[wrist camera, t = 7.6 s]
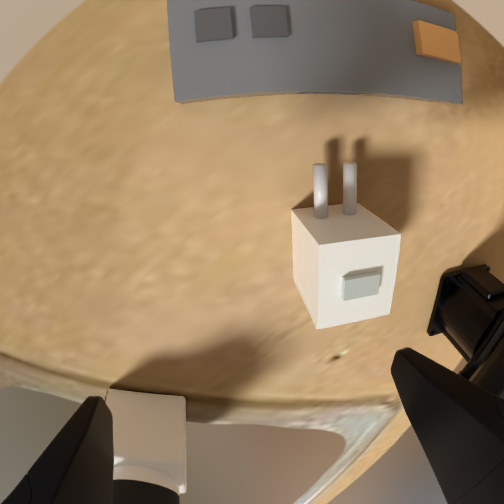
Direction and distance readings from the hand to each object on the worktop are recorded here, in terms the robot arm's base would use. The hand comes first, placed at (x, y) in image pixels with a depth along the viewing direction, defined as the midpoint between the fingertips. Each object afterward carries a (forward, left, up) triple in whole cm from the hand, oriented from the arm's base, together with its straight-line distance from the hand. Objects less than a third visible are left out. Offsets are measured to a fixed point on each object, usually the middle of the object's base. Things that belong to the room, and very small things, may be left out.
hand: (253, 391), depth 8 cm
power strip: (+11, -6, -12) cm, 18 cm away
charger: (0, -6, -12) cm, 14 cm away
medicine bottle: (-17, +10, -13) cm, 23 cm away
